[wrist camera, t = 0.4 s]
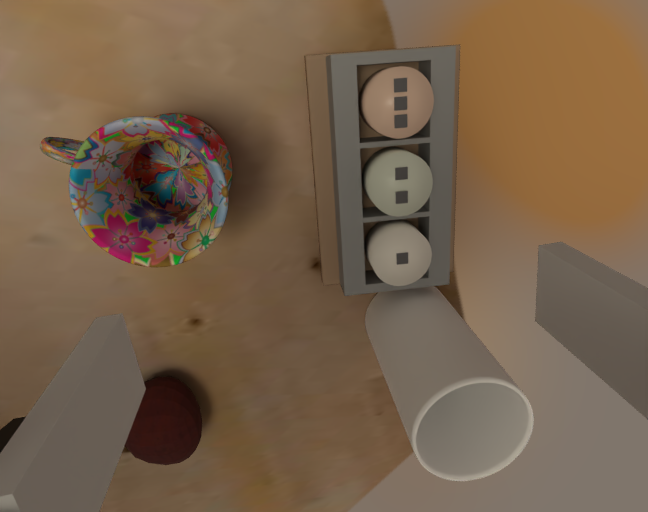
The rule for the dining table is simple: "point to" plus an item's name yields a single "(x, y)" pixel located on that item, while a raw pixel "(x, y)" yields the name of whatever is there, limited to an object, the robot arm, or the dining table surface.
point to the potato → (165, 423)
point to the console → (360, 144)
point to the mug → (148, 187)
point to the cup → (447, 386)
